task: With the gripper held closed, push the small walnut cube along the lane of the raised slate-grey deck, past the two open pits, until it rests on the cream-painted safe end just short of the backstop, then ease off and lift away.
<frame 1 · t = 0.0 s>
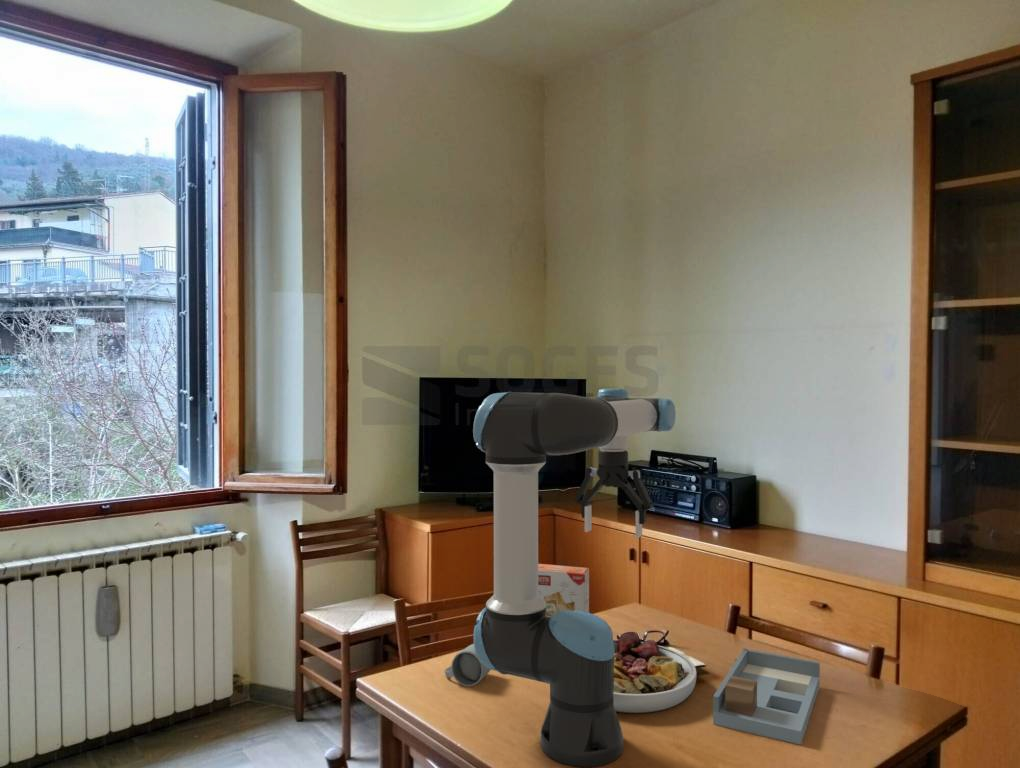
hand: (613, 534, 181), 28 cm above the table, tool pointing down, fingers open, 13 cm apart
ceramic mug: (467, 680, 161), on the table
bowl: (625, 688, 157), on the table
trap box: (769, 704, 148), on the table
block: (741, 708, 141), point 2 cm above the table, touching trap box
cracker box: (559, 653, 176), on the table
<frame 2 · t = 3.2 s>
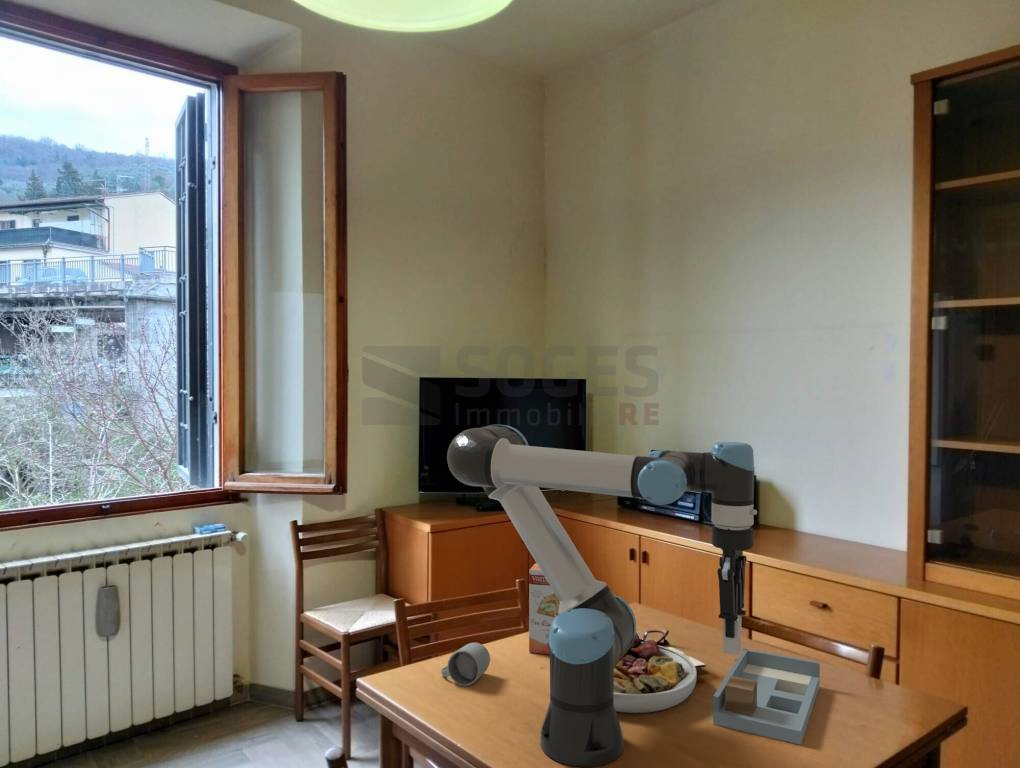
hand: (732, 651, 134), 16 cm above the table, tool pointing down, fingers closed
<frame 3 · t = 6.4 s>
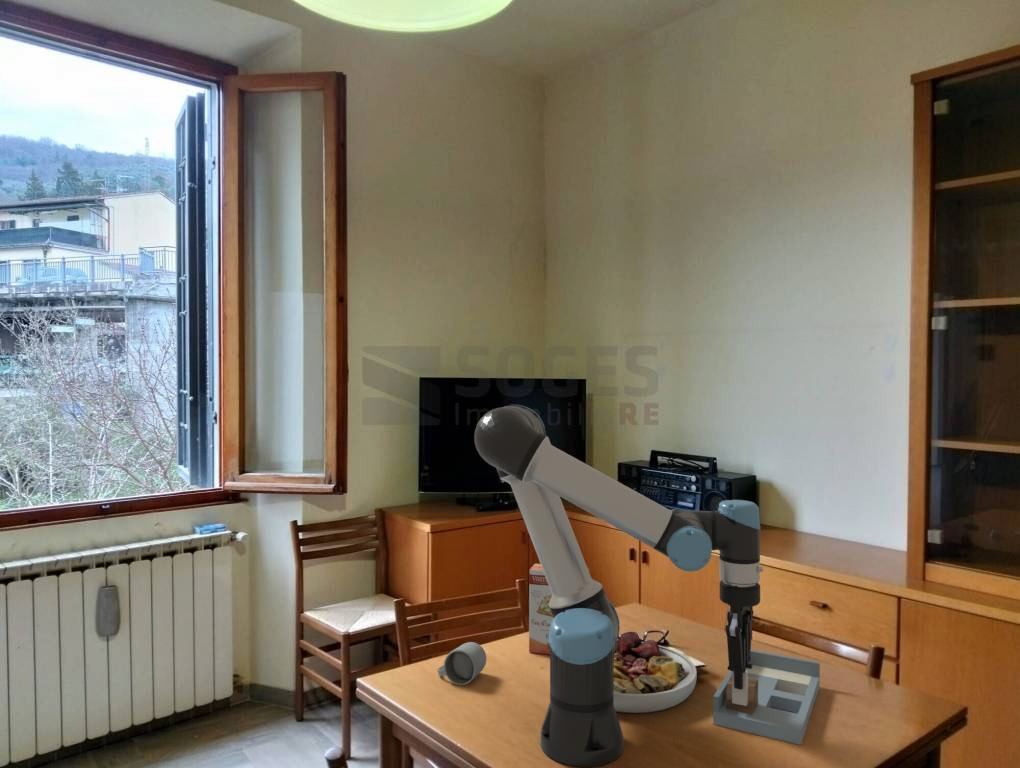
hand: (740, 702, 139), 5 cm above the table, tool pointing down, fingers closed
block: (742, 706, 142), point 3 cm above the table, touching gripper
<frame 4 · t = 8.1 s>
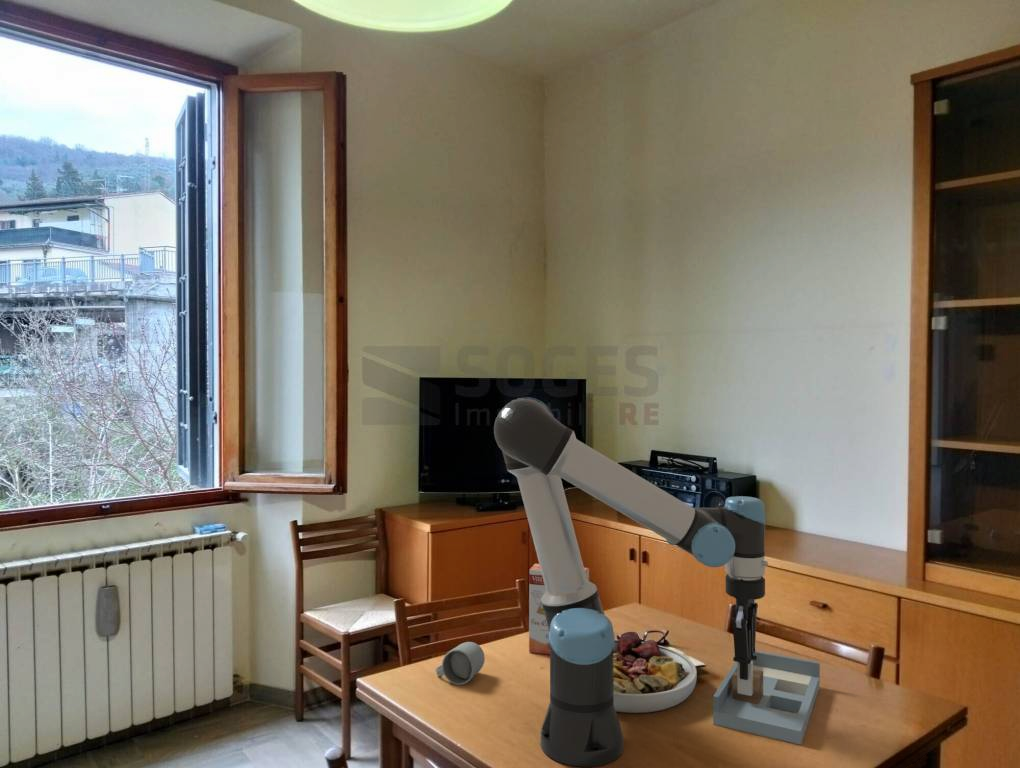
hand: (745, 693, 143), 4 cm above the table, tool pointing down, fingers closed
block: (748, 696, 146), point 2 cm above the table, touching gripper, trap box
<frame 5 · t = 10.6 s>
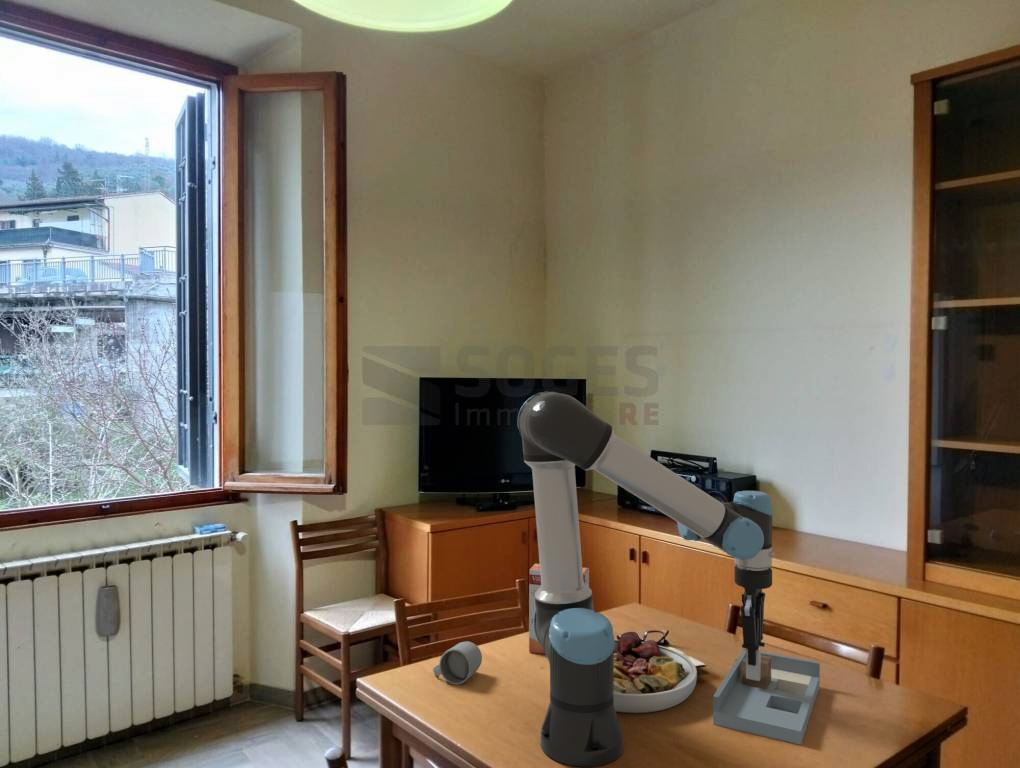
hand: (753, 678, 150), 5 cm above the table, tool pointing down, fingers closed
block: (756, 682, 153), point 3 cm above the table, touching gripper
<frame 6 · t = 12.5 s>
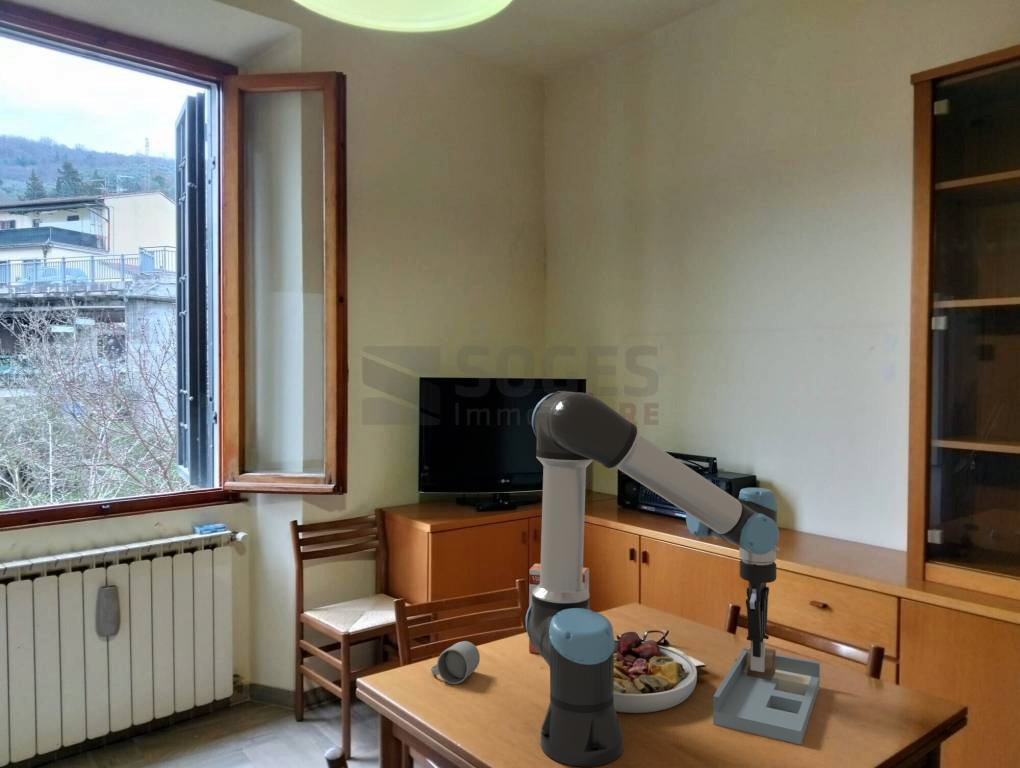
hand: (757, 669, 155), 4 cm above the table, tool pointing down, fingers closed
block: (761, 673, 158), point 2 cm above the table, touching gripper, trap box
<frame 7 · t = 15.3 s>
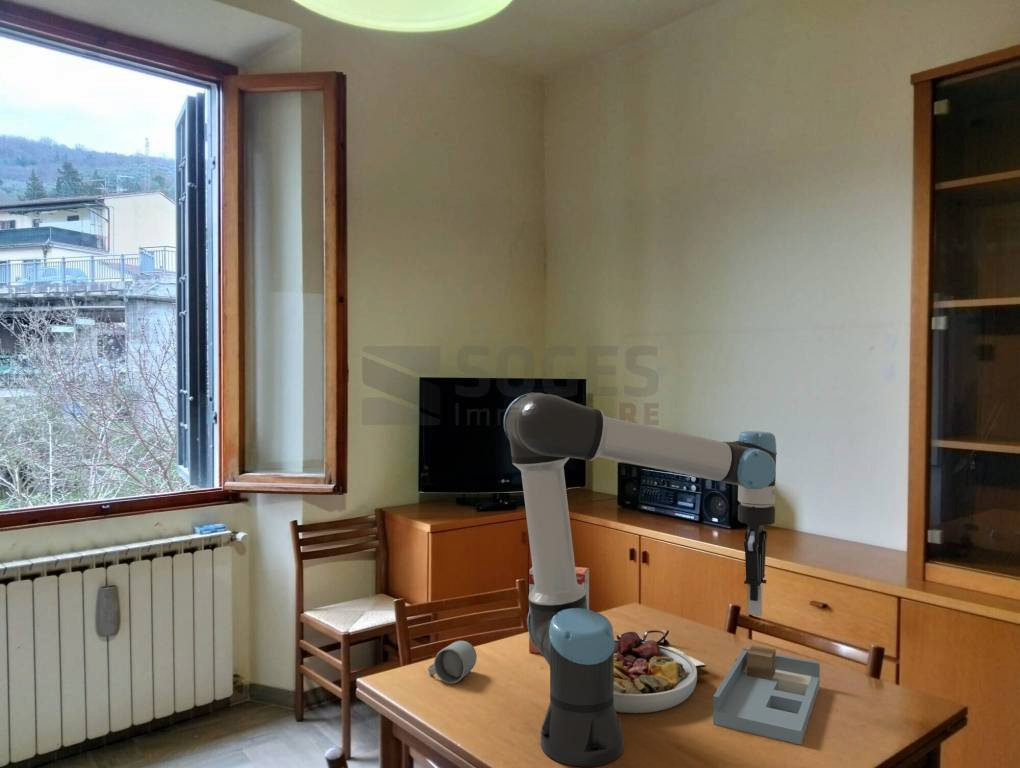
hand: (754, 614, 154), 17 cm above the table, tool pointing down, fingers closed
block: (761, 673, 158), point 2 cm above the table, touching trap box
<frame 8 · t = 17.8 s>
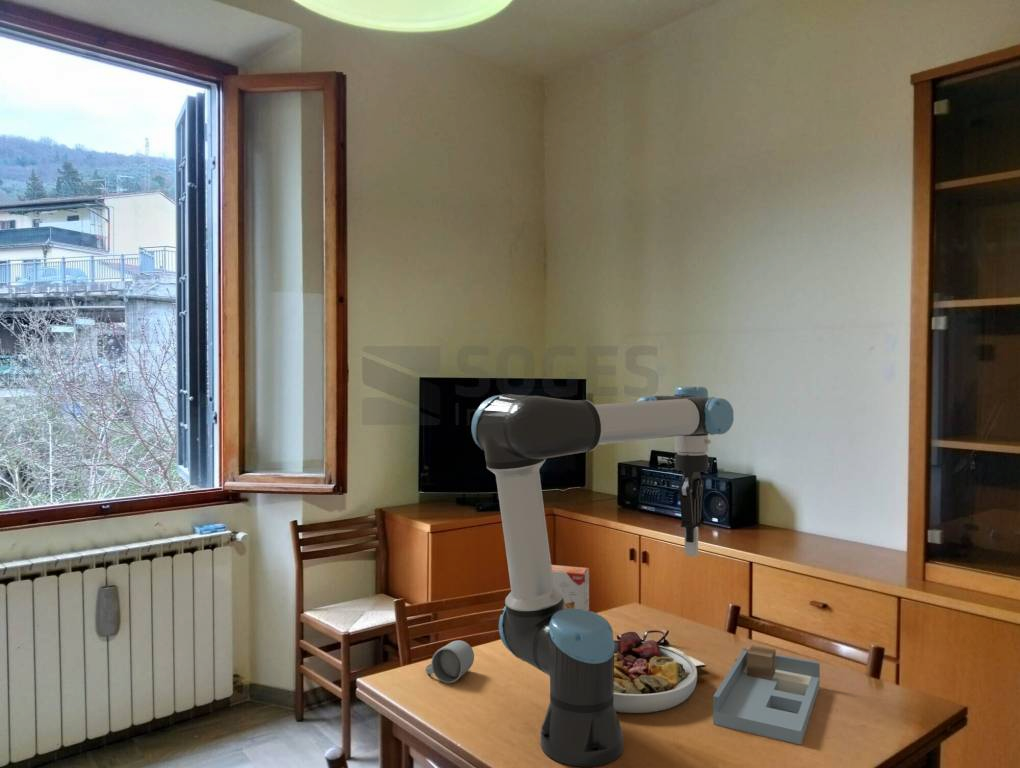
hand: (691, 555, 166), 26 cm above the table, tool pointing down, fingers closed
at the end: block inside the target area on the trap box (1.6 cm from its centre), point 2.5 cm above the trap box's base; block tilted 0°; the gripper is holding nothing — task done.
